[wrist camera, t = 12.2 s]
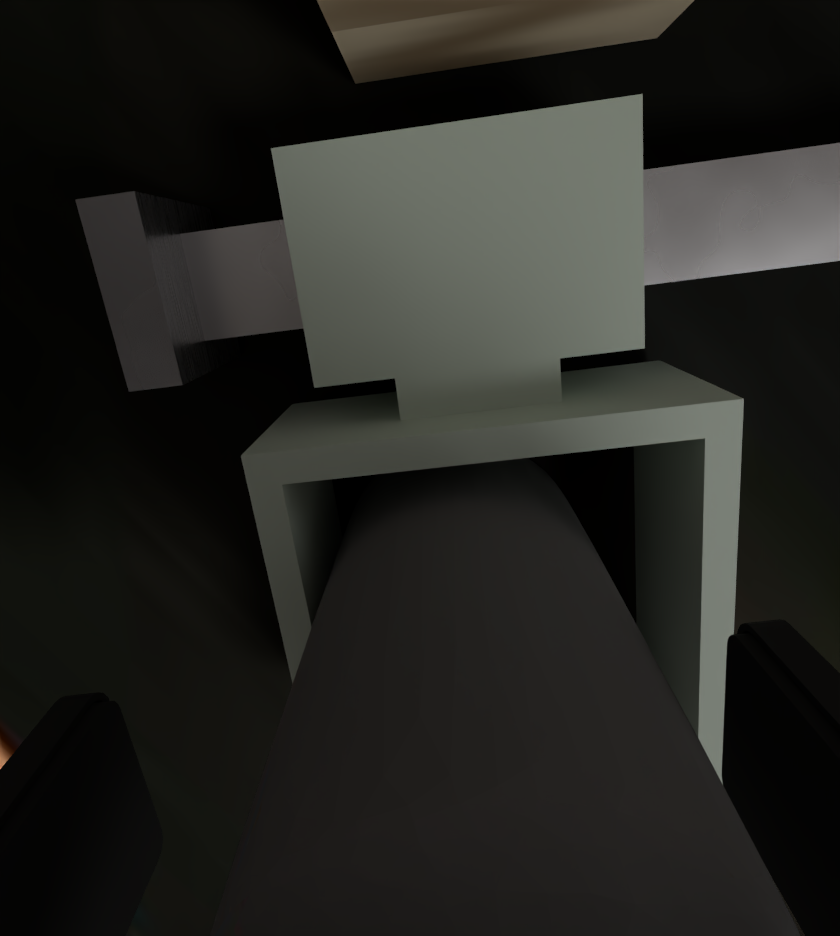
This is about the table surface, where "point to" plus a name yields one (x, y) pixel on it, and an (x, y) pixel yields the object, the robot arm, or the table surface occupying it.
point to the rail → (272, 279)
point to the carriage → (498, 357)
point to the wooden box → (482, 30)
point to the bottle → (486, 742)
